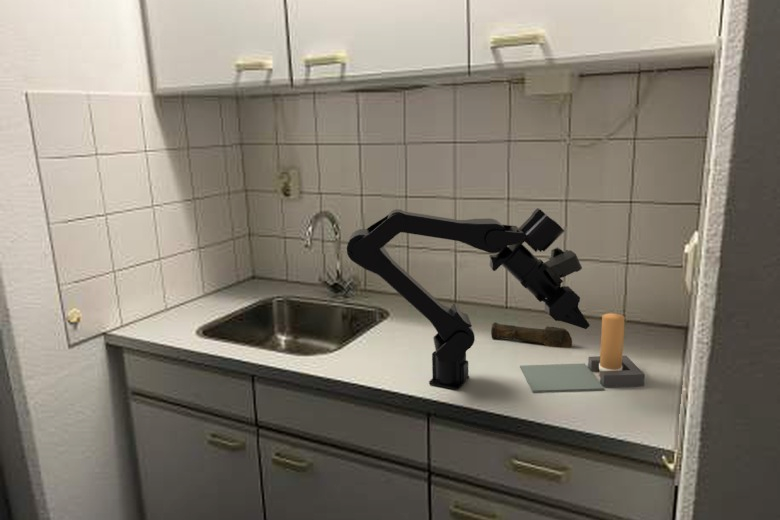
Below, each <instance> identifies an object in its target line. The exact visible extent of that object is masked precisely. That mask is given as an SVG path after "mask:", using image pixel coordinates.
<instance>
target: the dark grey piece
mask: <svg viewBox="0 0 780 520" xmlns="http://www.w3.org/2000/svg"><path fill="white" fill-rule="evenodd" d="M587 360H588V363H587V364H588V365H587V367H588V368H589V369H590V371H591V372H599V363H600V356H594V355H593V356H588V359H587ZM645 377H646V376H645V373H644V371H642V370H641V369H640V368H639V367H638V365H636V363H634V362H633V361H632V360H631V358H630V357H628V355H622V371H601V373H600V376H599V382H600V383H601V385H602V386H603V387H604V388H614V387H615V388H619V387H645Z"/></svg>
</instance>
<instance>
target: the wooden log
mask: <svg viewBox="0 0 780 520" xmlns="http://www.w3.org/2000/svg"><path fill="white" fill-rule="evenodd" d="M490 334H491V338H492V339H493V338H494V339H495V338H496V339H498V340H500V339H506V340H514V341H523V342H532V343H538V344H542V345H543V344H544V346H545V347H550V348H572V347H573V346H572V345H573V338H572V337H571V334H570V332H569V331H568V330H566V328H563V327H558V326H557V327H556V326H546V327H545V328H536V327H535V328H534V327H525V326H516V325H508V324H502V323H498V322H493V323H492V324H491V330H490Z"/></svg>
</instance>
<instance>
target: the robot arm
mask: <svg viewBox="0 0 780 520" xmlns="http://www.w3.org/2000/svg"><path fill="white" fill-rule="evenodd" d="M400 233H404V234H411V235H417V236H422V237H423V236H424V237H429V238H430V237H431V238H436V239H441V240H443V239H444V240H448V241H450V240H451V241H455V242H460V243H463V244H465V245H468V246H469V247H472V248H474V249H477V250H480V251H483V252H487V253H488V254H489V253H490V254H489V267H490V268H491V270H492V271H493V272H496V271H497V270H498V269H499V268H500V267H501V266H502V267H503V268H504V269H505V270H506V271H507V272H508V273H509V274H510V275H511V276H513V277H514V278H515V279H516V280H517V281H518V283H520V284H521V286H522V287H523V288H525V289H527V290H528V291H529V292H530V293H531V294H532V296H534V297H535V298H536V300H538V302H540V303H541V302H544V311H545V312H546V313H547V314H548V315H549V316H550V317H551V318H552V319H553V320H554V321H555V322H562V323H565V324H569V325H572V326H575V327H579V328H581V329H585V330H587V329H588V328H590V323H589V322H588V320H587V319H586V317H585V316H584V314H583V313H582V311H581V309H580V308H579V304H580V302H581V297H580V296H579V295H578V294H577V293H576V291H574V290H573V289H572V288H571V287H570V286H568V285H567V286H564V285H562V283H563V282H564V280H563V279H562V278H565V277H567V276H569V275H572V274H573V273H578V272H579V271H581V270H582V269H583V267H582V264H581V263H580V260H579V258H578V256H577V254H576V253H575V252H574V251H572V250H570V249H569V250H568V249H566V250H565V251H564V250H562V249H561V248H559V247H555V248H553V249H551V251H550V257H549V258H548V260H547V261H545V262H544V261H543V260H542V259H541V258H539V259H538V258H537V256H535V255H534V254H533V253H532V252H531V251H530V250H529V249H528V248H527V247H526V246H525V245H524V243H526V244H527V246H528V247H530V248H531V249H532V251H534V252H535V253H537V252H540V253H541V252H545V251H546V250H547V249H548V248H550V246H552V245H553V244H554V242H555V241H556V240H558V238H560V236H562V235H563V233H565V230H564V228H562V227H561V225H560V224H559V223H558V222H556V221H555V219H553V218H551V217H550V216H548V215H547V214H546V213H545V212H544V211H543V210H542V209H540V208H536V209H535V210H534V211H533V212H532V213H531V215H530V217H529V216H528V219H526V220H525V221H524V222H523V223H522V224H521V225H520V226H519V227H518V226H517V225H510V224H502V223H501V222H500V221H498V220H497V219H494V218H472V219H456V218H455V219H454V218H449V217H442V216H436V215H435V216H434V215H429V214H423V213H417V212H409V211H404V210H402V209H399V208H398V209H397V208H396V209H393V210H390V212H389V213H388V214H387V215H385V216H384V217H382V218H381V219H379V220H378V221H376V222H374V223H373V224H371V225H369V226H368V227H367V228H360V229H357V230H354V232H352V234H350V236H349V239H348V242H347V246H346V254H347V256H348V258H349V259H350V260H351V262H353V263H355V264H357V266H359V267H361V268H362V269H364V270H366V271H367V272H370V273H372V274H375V275H377V276H379V277H380V278H382V279H383V280H384V281H385V282H386V283H387V284H388V285H389V286H391V288H392V289H394V290H395V291H396V293H398V294H399V295H400V296H402V297H403V299H405V300H406V301H407V302H408V303H409V304H410V305H411V306H413V307H414V308H415V309H416V310H417V311H418V312H419V313H420V314H421V315H423V316H424V317H425V318H426V319H427V320H428V321H429V322H430V323H431V325H433V328H434V329H435V330H436V332H437V333H436V334H435V335H434V336H433V343H434V349H435V351H433V352H432V354H431V357H432V358H431V363H432V365H431V366H432V367H431V370H432V371H431V372H432V378H431V379H430V380H429V381H428V384H429V385H430V386H431V385H432V386H436V387H440V388H441V387H442V388H446V389H449V390H459V389H460V388H462V386H464V384H465V383H466V382H467V381H468V380H469V378H470V375H469V361H468V360H467V351H468V350H470V349H471V348H472V346H473V345H474V343H475V341H476V340H475V333H474V331H473V330H474V329H473V325H472V323H471V320H470V317H469V315H468V313H464V311H461V309H460V308H459V307H458V306H457V304H456V303H453V304H452V305H451V306H450V307H449V306H446V305H444V304H442V303H441V301H439V299H437V298H436V297H434V296H433V295H432V294H431V293H430V292H429V291H428V290H427V289H425V287H423V286H422V285H421V284H420V283H419V282H418V281H417V280H416V279H414V277H412V276H411V275H410V274H409V273H408V272H407V271H406V270H405V269H404V268H402V267H401V265H399V263H397V261H395V260H394V259H393V258H392V257H391V255H390V254H389V252H388V251H387V249H386V247H385V246H386V245H387V244H388V243H389V242H390V241H392V240H393V239H394V238H395V237H396V236H397V235H399V234H400Z"/></svg>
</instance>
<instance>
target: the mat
mask: <svg viewBox="0 0 780 520" xmlns="http://www.w3.org/2000/svg"><path fill="white" fill-rule="evenodd" d="M519 369H520V371H521V372H522V374H523V376H524V378H525V380H526V382H527V384H528V386H529V388H530V389H531V391H532V393H555V392H557V393H559V392H561V393H562V392H588V391H593V392H594V391H605V387H603V386H602V385H601V383H600V380H599V379H598V378H597V376H595V374H594V373H593V371H590V369H589V368H588V365H587V364H586V363H559V364H557V363H556V364H530V365H529V364H528V365H527V364H526V365H525V364H524V365H519Z"/></svg>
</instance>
